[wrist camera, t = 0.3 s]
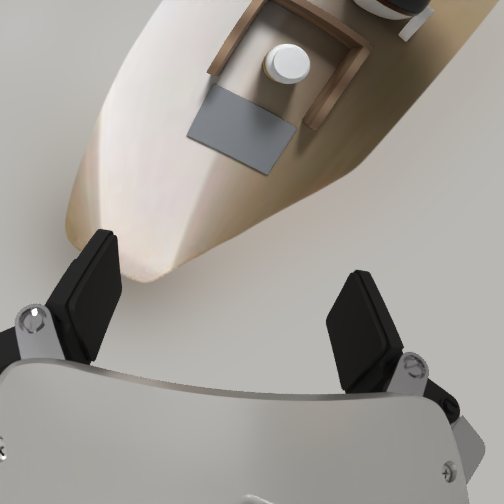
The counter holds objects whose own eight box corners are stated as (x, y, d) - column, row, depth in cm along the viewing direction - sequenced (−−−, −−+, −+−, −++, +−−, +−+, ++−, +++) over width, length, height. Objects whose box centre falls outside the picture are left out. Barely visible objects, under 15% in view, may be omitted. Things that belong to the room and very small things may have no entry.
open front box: (264, -9, 23) (267, -20, 19) (360, 47, 27) (374, 46, 24) (211, 72, 30) (206, 72, 26) (308, 124, 34) (315, 131, 30)
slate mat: (213, 83, 31) (213, 84, 30) (296, 127, 34) (297, 128, 34) (187, 134, 34) (186, 135, 34) (267, 174, 38) (267, 175, 38)
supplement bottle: (271, 87, 31) (279, 92, 24) (256, 56, 29) (258, 50, 22) (306, 75, 30) (322, 76, 23) (291, 43, 28) (304, 35, 21)
